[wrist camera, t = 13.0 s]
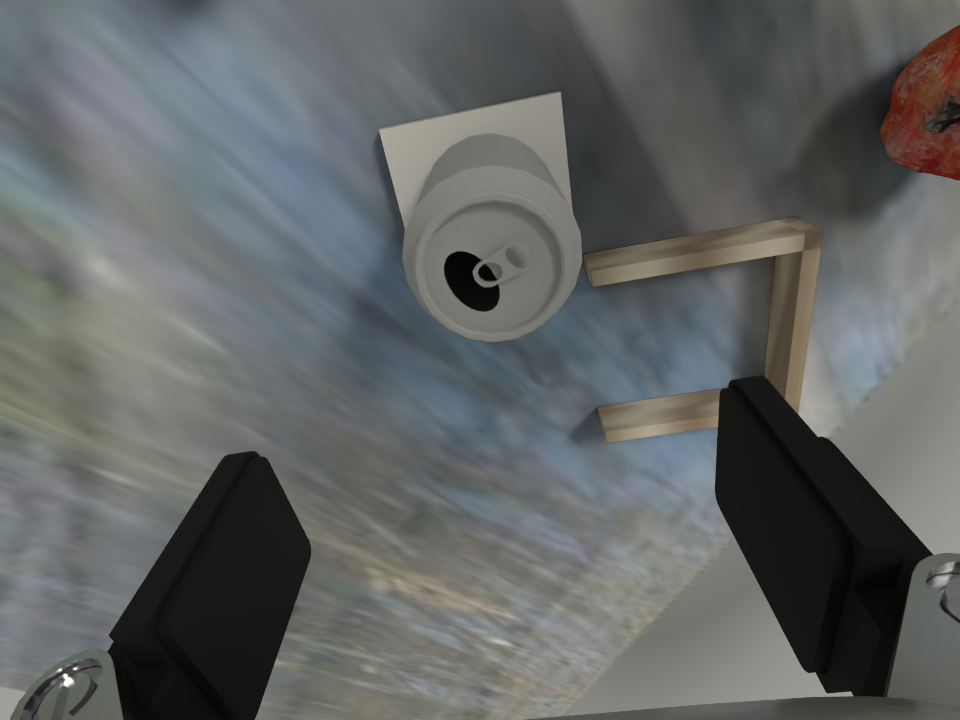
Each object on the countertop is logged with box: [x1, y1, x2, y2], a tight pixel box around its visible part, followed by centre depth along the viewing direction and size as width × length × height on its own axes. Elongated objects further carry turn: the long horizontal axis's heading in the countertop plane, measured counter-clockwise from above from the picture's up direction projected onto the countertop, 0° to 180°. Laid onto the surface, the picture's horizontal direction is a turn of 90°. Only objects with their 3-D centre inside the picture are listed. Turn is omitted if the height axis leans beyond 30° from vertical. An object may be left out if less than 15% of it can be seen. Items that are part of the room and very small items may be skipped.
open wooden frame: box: [583, 217, 824, 443], centre depth 35 cm, size 13×13×3 cm
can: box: [402, 133, 582, 342], centre depth 26 cm, size 8×8×12 cm
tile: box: [379, 91, 573, 229], centre depth 31 cm, size 10×10×1 cm
